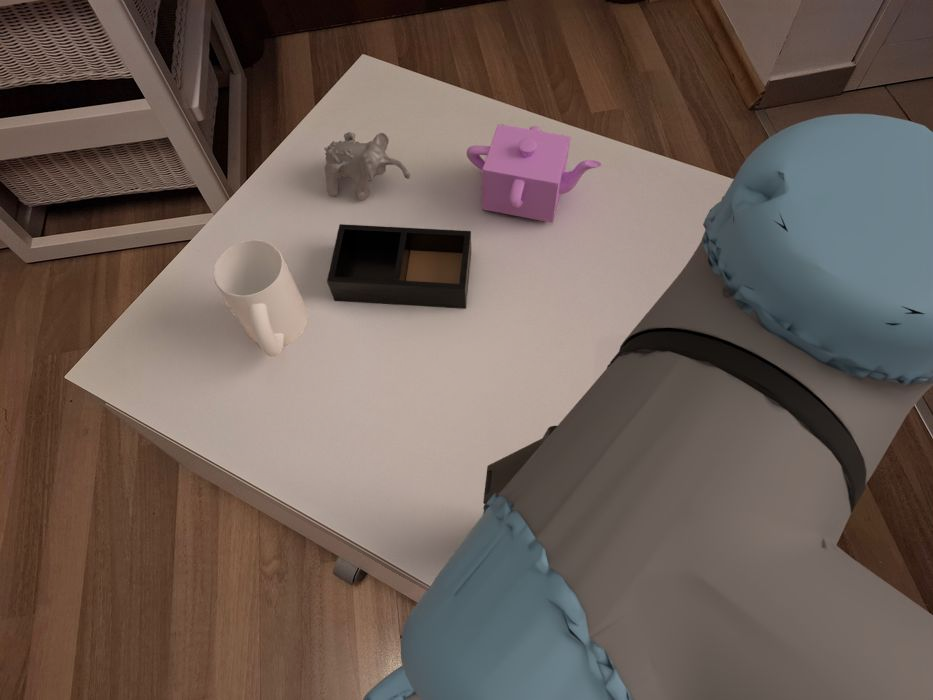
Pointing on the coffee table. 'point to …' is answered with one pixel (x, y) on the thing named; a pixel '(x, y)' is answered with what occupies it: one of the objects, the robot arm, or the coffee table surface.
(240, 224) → the coffee table surface
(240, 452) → the coffee table surface
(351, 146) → the gray elephant figurine
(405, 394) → the coffee table surface
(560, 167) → the teapot
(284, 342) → the mug
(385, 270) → the black divided tray
